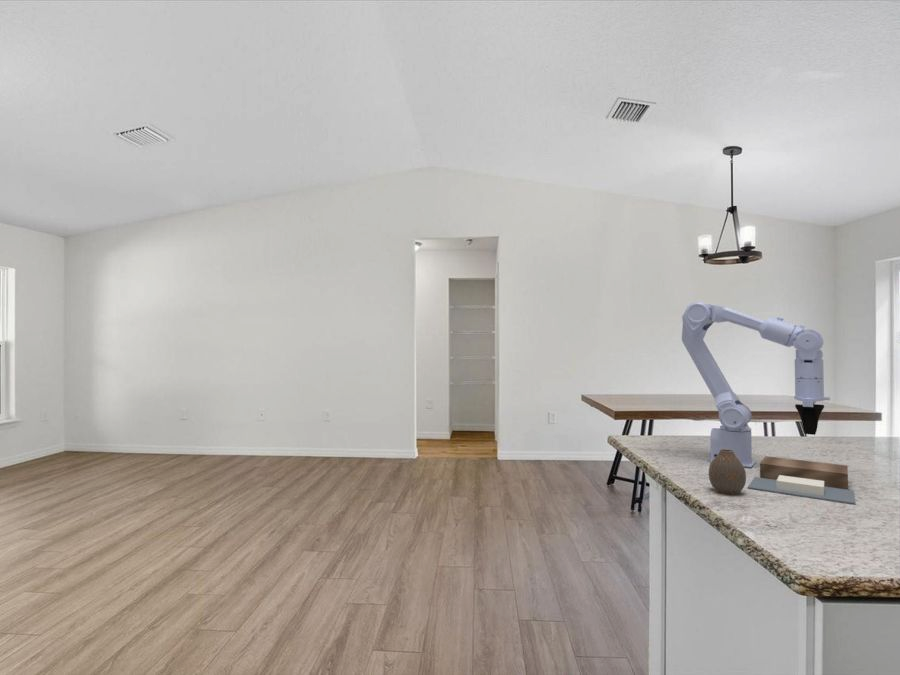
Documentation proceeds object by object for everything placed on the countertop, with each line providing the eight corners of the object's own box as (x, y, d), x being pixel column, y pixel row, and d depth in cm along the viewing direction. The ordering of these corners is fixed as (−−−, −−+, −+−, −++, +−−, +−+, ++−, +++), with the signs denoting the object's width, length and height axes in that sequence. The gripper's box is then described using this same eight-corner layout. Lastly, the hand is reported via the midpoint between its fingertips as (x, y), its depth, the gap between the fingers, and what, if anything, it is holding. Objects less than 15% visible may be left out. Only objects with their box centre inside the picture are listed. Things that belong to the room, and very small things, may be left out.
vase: (704, 492, 104) (704, 450, 104) (714, 485, 109) (713, 445, 109) (741, 498, 99) (741, 455, 100) (749, 491, 104) (749, 450, 105)
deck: (760, 478, 115) (759, 463, 115) (765, 470, 123) (765, 456, 123) (848, 490, 105) (847, 474, 105) (847, 480, 113) (847, 465, 113)
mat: (747, 488, 107) (747, 487, 107) (754, 478, 115) (754, 476, 115) (855, 504, 95) (855, 503, 95) (854, 491, 104) (854, 490, 104)
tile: (779, 475, 110) (779, 483, 110) (776, 480, 105) (776, 489, 105) (824, 480, 105) (824, 489, 105) (823, 487, 100) (823, 495, 100)
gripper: (828, 380, 113) (830, 440, 112) (830, 377, 124) (831, 431, 124) (791, 379, 117) (792, 436, 117) (796, 376, 129) (797, 429, 128)
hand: (810, 434), depth 121 cm, fingers closed
